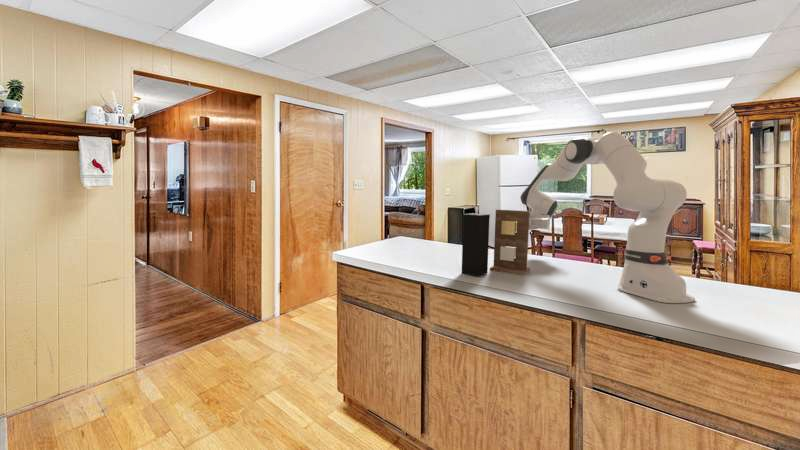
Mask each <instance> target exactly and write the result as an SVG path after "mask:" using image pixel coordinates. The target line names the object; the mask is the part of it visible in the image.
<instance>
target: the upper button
mask: <svg viewBox="0 0 800 450" xmlns="http://www.w3.org/2000/svg"><path fill="white" fill-rule="evenodd" d="M515 232H516V233H517V222H516V221H502V223H501V234H508V235H515Z"/></svg>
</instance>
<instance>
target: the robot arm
mask: <svg viewBox="0 0 800 450" xmlns="http://www.w3.org/2000/svg"><path fill="white" fill-rule="evenodd" d="M600 164H604V165H605V166H606V168H607V170H608V171H609V172H610V174H611V175H612V177H613V178H614V180H615V182H616V187H615V188H614V190H613V197H612V198H613V201H614V204H615V205H616V206H617V207H618V208H620V209H622V210H627V211H630V212H639V214H638V216H637V218H636V220H635V221H634V222H632V223H631V224H630V225H629V226H628V228H627V239H626V248H625V249H624V257H623V258H624V264H623V268H622V273H621V277H620V280H619V282H618V285H617V286H618V287H617V290H618V291H620V292H622V293H628V294H631V295H633V296H634V295H635V296H638V297H641V298H645V299H648V300H652V301H655V302H659V303H666V304H684V303H685V304H686V303H691V302H692V303H693V302H694V301H695V300H696V298H695V296H693V295H691V294H688V293H687V283H686V281H685V279H684V278H683V277H682V276H681V275H680V274H679V273H678V272H676V270H674V268H672V266H671V265H670V264H669V261H671V260H672V255H667V252H666V251H665V248H666V238H667V231H668V228H669V225H670V222H671V221H672V218H673V216H674V214H675V213H676V211H677V210H678V209H679V208H680V207H681V206H682V205H684V203H685V201H686V199H687V196H688V193H687V190H686V188H685V186H684V185H683V184H681V183H679V182H677V181H674V180H671V179H655V178H653V179H652V178H651V177H649V176H648V175H647V174H646V172H645V171H646V169H647V165H648V163H647V160H646V159H645V158H644V156H643V155H642V154H641V153H640V152H639V151H638V149H637V148H636V147H635V146H634V145H633V143H632V142H631V141H630V140H629V139H628V138H627V137H625V136H624V135H623V134H621V133H620V132H618V131H609V132H607V133H604V134H603V135H601V137H596V136H588V137H576V138H573V139H571V140H569V141H568V142H567V143H566V144H565V146H564V147H563V148H562V149H561V150H560V152H559V154H558V155H557V157H556V159H555V161H554V162H552V163H548V164H546V165H545V166H543V167H542V169H541V170H539V172H537V174H536V176H535V177H534V178H533V180H532V181H531V182H530V184H529V185H528V186H527V187H526V188H524V190H523V191H522V193H521V194H520V197H519V198H520V201H521V204H522V205H524V206H526V207H528V208H530V209H532V210H533V211H530V215H529V231H533V230H537V229H538V230H539V229H540V230H541V229H550V226H551V219H552V218H553V217H554V215H555V214H556V212H557V210H558V207H559V206H558V202H557V200H556V199H555V198H553V197H551V196H550V195H548V194H546V193H544V192H542V191H541V190H539V187H540V186H541V184H542V183H543V182H544V181H545V180H551V181H553V180H554V181H558V182H567V181H570V180H572V179H574V178H575V177H576V176H577V175H578V173H579V172H580V170H581V168H582V167H583V165H600Z"/></svg>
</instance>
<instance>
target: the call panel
mask: <svg viewBox="0 0 800 450" xmlns="http://www.w3.org/2000/svg"><path fill="white" fill-rule="evenodd" d="M530 212H531V211H530V210H514V209H499V208H498V209H495V219H494V220H495V222H494V224H495V225H494V241H493V242H494V249H493V266H490V267H489V271H493V272H499V273H507V274H513V275H519V276H525V274H527V273H528V272H529V271H530V267H528V255H529V254H528V253H529V235H530V234H529V233H530V232H529V231H530V230H529V215H530ZM502 221H516V222H517V232H515V235H508V234H501V223H502ZM501 246H503V247H516V257H515V258H514V261H507V260H500V248H501Z"/></svg>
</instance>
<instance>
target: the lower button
mask: <svg viewBox="0 0 800 450" xmlns="http://www.w3.org/2000/svg"><path fill="white" fill-rule="evenodd" d="M514 258H516V247H507V246H506V247H503V246H501V248H500V260H507V261H514Z"/></svg>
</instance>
